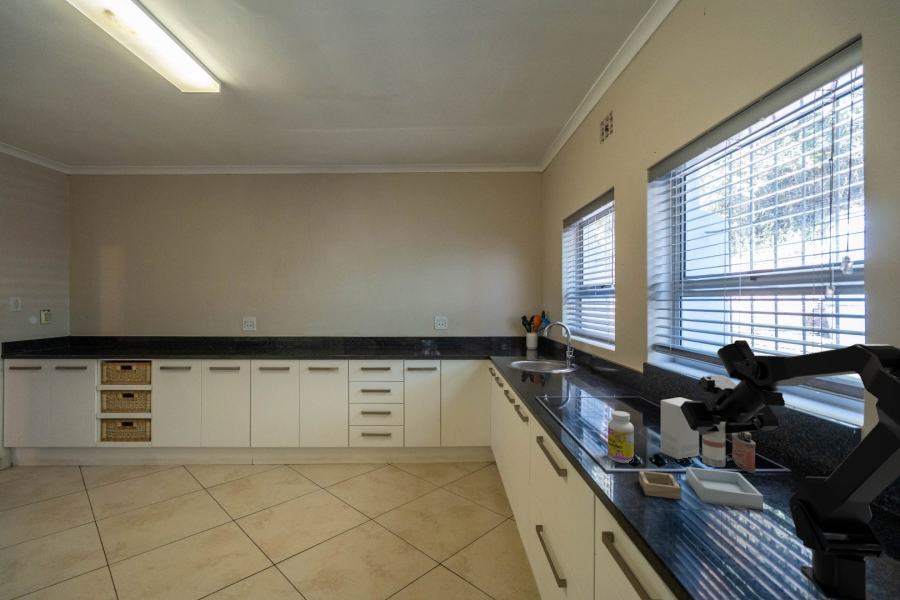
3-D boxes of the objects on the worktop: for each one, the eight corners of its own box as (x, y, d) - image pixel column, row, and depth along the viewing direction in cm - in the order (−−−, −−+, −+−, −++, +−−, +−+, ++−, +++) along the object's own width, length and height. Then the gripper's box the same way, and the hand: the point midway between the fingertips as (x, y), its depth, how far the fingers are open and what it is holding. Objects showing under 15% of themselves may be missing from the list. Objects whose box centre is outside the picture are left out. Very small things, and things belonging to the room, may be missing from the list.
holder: (681, 499, 85) (681, 488, 85) (645, 494, 87) (645, 484, 87) (671, 484, 92) (671, 474, 92) (639, 480, 94) (639, 470, 94)
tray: (763, 510, 81) (763, 496, 80) (703, 502, 84) (703, 488, 84) (738, 485, 91) (738, 472, 91) (686, 479, 94) (686, 467, 94)
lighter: (759, 473, 97) (759, 434, 97) (744, 472, 98) (744, 433, 98) (742, 460, 105) (742, 424, 105) (728, 459, 106) (728, 423, 106)
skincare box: (680, 448, 114) (680, 396, 114) (701, 456, 108) (701, 402, 108) (659, 452, 111) (659, 399, 111) (679, 461, 105) (679, 405, 105)
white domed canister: (725, 468, 85) (725, 424, 85) (702, 464, 87) (702, 420, 87) (724, 462, 88) (724, 419, 88) (702, 457, 91) (702, 416, 91)
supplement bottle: (602, 456, 108) (602, 411, 108) (619, 452, 111) (619, 408, 111) (622, 465, 102) (622, 418, 102) (639, 461, 105) (639, 415, 105)
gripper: (767, 365, 84) (729, 401, 95) (685, 365, 84) (656, 402, 95) (801, 411, 76) (755, 444, 87) (711, 411, 76) (676, 445, 87)
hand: (709, 432), depth 89 cm, fingers closed on white domed canister, 4 cm apart
